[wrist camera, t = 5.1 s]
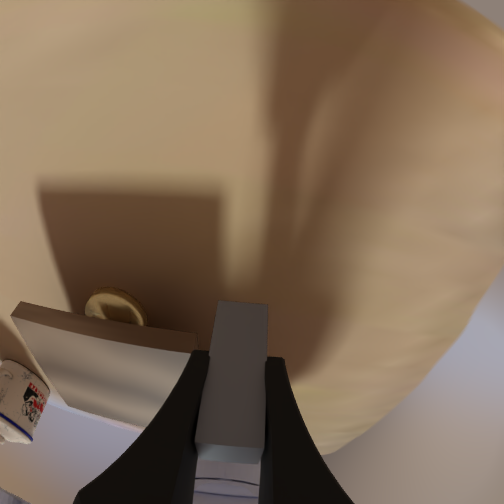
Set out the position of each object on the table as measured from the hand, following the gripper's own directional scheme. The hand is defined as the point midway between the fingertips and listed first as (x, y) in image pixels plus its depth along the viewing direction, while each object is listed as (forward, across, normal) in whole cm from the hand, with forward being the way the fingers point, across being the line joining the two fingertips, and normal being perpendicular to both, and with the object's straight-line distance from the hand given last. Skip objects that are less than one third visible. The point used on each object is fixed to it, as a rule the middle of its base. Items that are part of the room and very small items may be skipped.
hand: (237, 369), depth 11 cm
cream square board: (+9, +9, +10) cm, 16 cm away
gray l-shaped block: (+3, 0, +5) cm, 5 cm away
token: (+9, +10, +8) cm, 16 cm away
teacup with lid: (+9, +30, +24) cm, 40 cm away
